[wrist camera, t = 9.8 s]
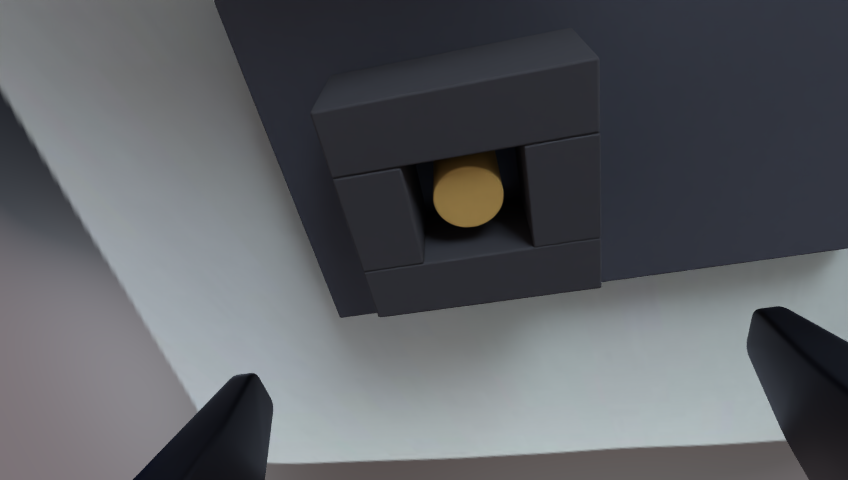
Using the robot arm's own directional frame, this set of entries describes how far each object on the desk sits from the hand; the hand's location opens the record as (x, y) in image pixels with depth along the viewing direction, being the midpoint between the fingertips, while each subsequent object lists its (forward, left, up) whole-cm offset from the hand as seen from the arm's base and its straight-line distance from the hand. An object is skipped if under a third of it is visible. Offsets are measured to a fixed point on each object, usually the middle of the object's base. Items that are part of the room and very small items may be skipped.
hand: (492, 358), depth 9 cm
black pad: (0, 0, -9) cm, 9 cm away
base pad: (-4, 0, -10) cm, 11 cm away
